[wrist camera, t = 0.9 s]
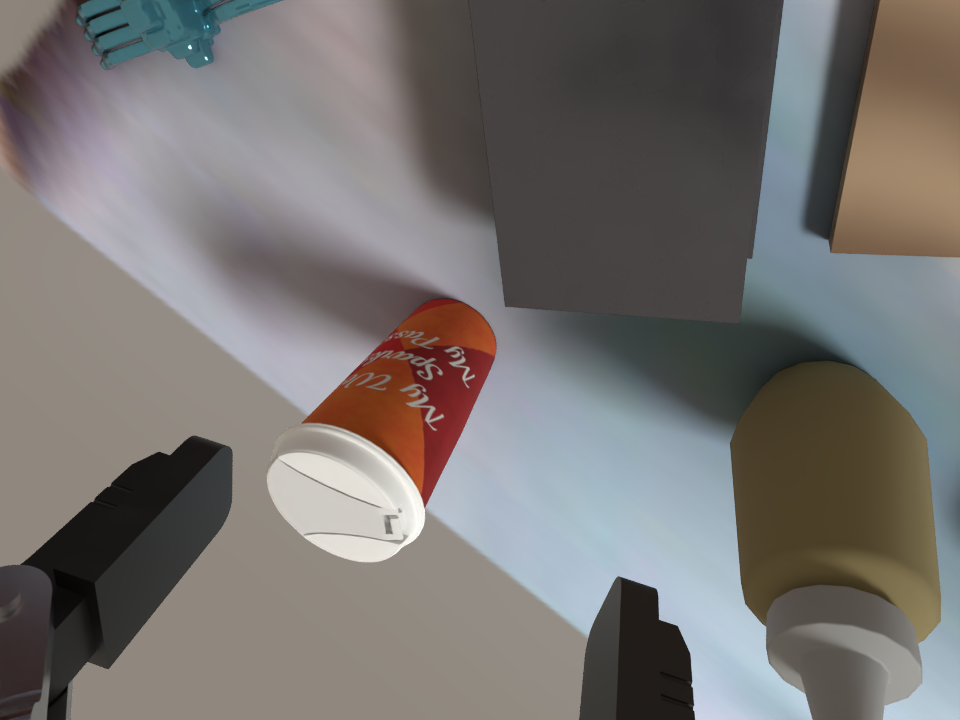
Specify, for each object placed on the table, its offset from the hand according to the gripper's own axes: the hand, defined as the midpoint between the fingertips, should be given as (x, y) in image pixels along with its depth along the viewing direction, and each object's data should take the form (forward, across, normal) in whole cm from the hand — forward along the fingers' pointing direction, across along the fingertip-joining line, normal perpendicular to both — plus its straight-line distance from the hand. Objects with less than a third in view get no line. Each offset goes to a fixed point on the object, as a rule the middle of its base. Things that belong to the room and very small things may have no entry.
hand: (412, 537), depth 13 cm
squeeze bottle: (+22, -16, +5) cm, 27 cm away
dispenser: (+21, -2, -7) cm, 22 cm away
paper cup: (+24, +4, +9) cm, 26 cm away
